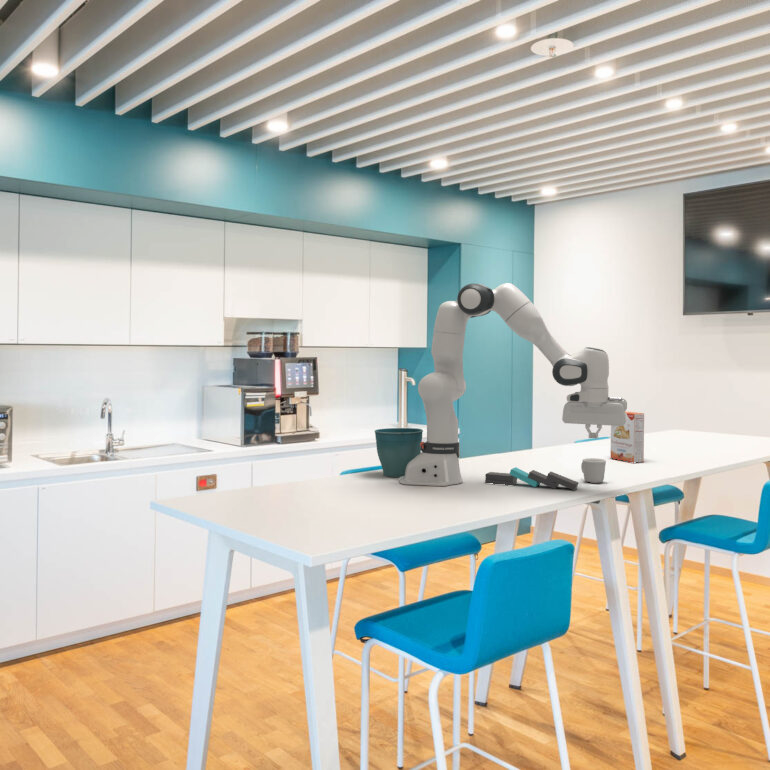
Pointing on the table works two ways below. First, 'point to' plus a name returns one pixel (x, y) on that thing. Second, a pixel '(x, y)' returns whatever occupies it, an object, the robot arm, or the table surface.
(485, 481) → the domino
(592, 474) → the cup
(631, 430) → the cracker box
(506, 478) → the domino
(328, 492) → the table surface
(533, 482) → the domino teal
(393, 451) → the flower pot
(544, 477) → the domino
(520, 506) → the table surface
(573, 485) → the domino
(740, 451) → the table surface
